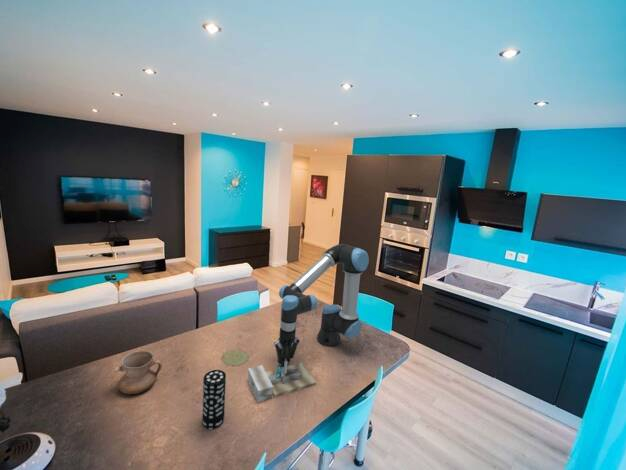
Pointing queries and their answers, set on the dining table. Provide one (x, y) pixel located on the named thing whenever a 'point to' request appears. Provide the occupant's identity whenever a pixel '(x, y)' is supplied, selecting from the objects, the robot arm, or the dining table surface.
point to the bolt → (277, 375)
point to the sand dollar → (235, 357)
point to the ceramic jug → (137, 372)
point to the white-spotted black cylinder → (213, 399)
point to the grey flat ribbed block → (291, 382)
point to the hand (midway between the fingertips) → (284, 371)
